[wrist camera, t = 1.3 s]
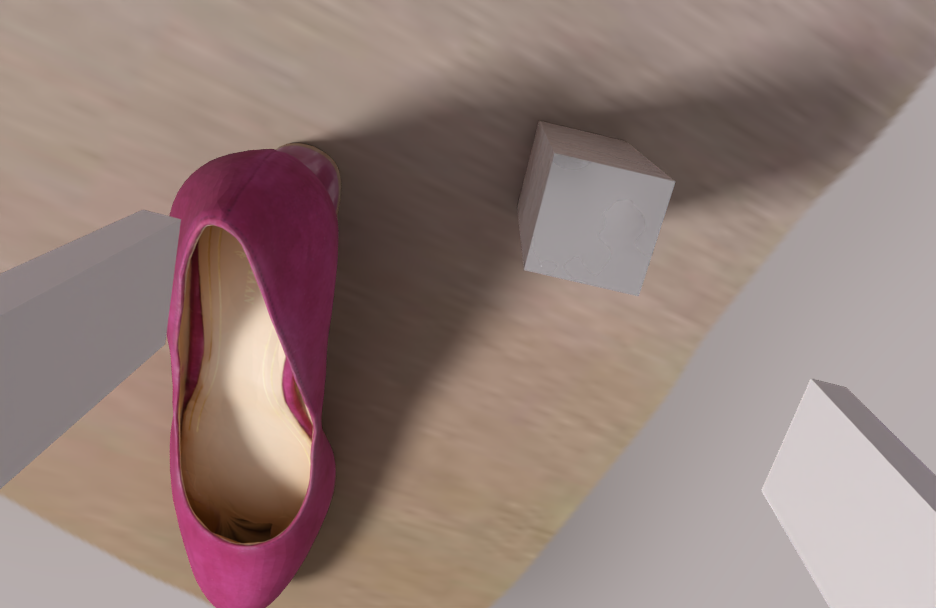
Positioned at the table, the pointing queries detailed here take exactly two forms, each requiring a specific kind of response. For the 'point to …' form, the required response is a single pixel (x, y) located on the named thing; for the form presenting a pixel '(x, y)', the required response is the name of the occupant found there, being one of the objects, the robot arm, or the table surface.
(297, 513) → the high heel
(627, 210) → the grey rectangular block
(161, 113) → the table surface
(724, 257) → the table surface
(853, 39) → the table surface
